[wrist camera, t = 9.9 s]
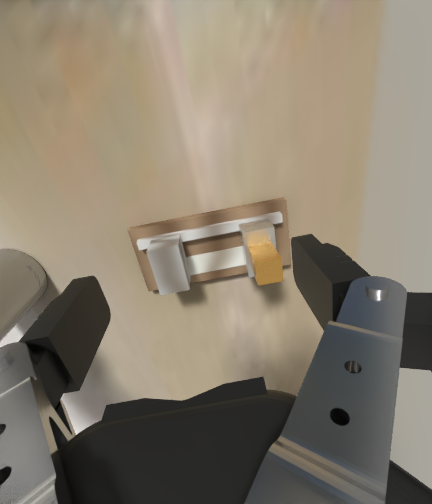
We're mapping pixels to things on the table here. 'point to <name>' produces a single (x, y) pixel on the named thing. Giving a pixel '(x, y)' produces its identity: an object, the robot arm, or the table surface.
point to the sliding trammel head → (261, 252)
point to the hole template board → (203, 245)
